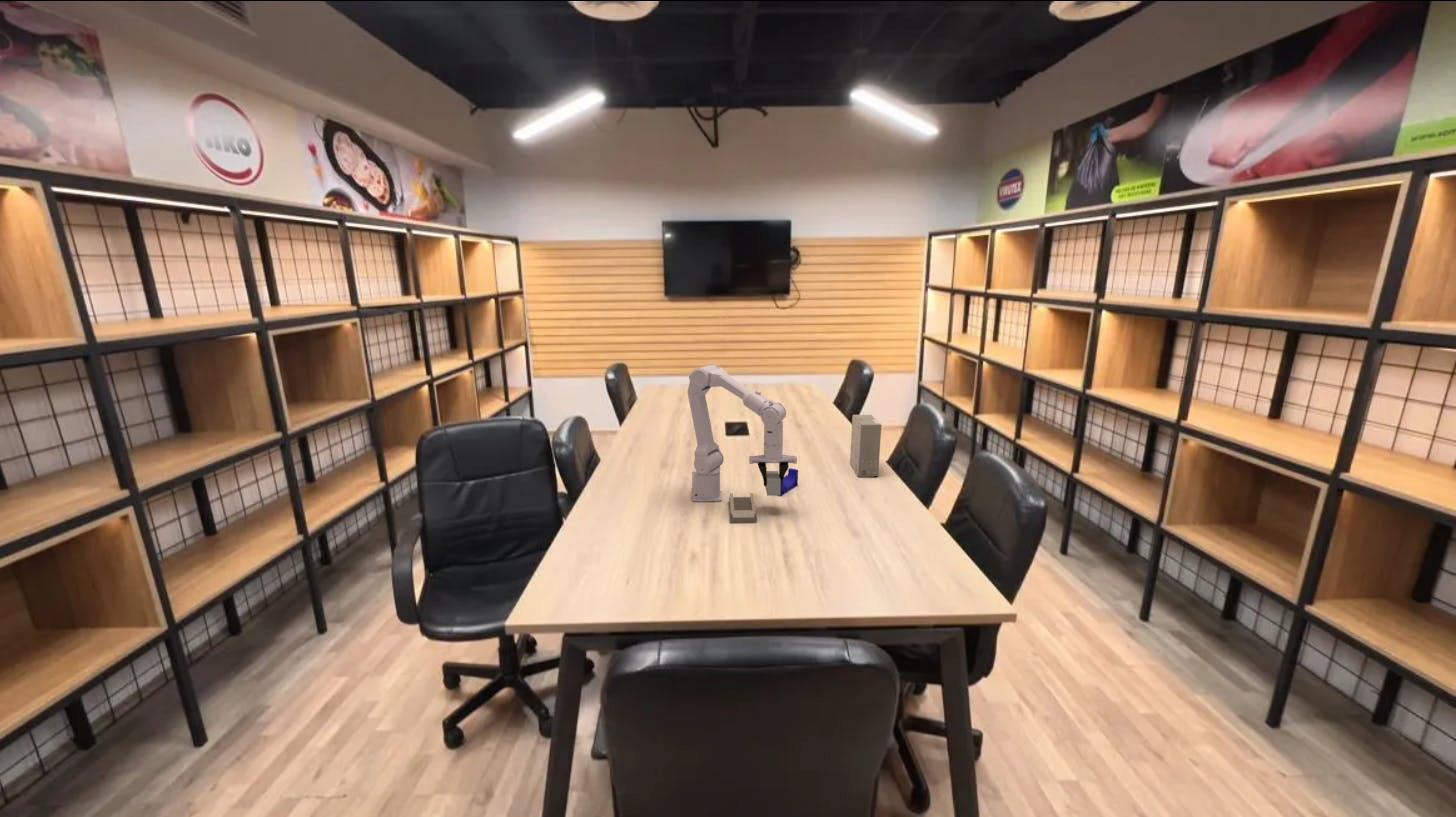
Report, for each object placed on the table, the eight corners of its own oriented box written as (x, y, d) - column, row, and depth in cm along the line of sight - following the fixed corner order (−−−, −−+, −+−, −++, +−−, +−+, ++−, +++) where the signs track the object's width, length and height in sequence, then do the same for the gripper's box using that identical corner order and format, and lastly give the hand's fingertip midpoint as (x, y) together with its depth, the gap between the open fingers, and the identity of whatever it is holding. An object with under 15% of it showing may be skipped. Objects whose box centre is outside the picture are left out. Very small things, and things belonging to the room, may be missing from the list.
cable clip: (786, 483, 198) (786, 467, 196) (797, 485, 195) (798, 469, 194) (769, 494, 188) (769, 477, 187) (780, 497, 186) (781, 480, 184)
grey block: (767, 495, 169) (767, 480, 168) (765, 485, 177) (765, 470, 176) (780, 495, 169) (780, 480, 168) (777, 485, 177) (777, 470, 176)
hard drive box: (878, 477, 202) (882, 424, 197) (857, 477, 202) (860, 424, 198) (868, 463, 217) (871, 414, 212) (849, 463, 217) (851, 414, 213)
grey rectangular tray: (730, 523, 166) (730, 512, 165) (729, 501, 181) (729, 491, 181) (756, 522, 166) (756, 511, 165) (753, 501, 182) (753, 491, 181)
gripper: (750, 447, 166) (749, 490, 169) (798, 447, 166) (797, 489, 169) (748, 440, 173) (748, 481, 176) (795, 440, 173) (794, 481, 176)
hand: (772, 485), depth 173 cm, fingers closed on grey block, 4 cm apart
